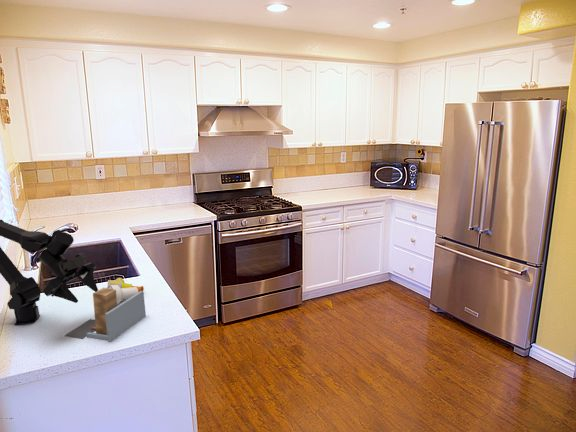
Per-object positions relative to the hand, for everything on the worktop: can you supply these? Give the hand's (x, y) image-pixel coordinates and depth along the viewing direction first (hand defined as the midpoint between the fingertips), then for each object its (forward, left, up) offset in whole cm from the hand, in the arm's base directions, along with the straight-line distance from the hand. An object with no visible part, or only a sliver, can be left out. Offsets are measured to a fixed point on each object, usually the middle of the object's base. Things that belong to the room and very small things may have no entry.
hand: (87, 296), depth 140 cm
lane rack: (+8, 0, -13) cm, 15 cm away
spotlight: (+7, +21, -13) cm, 26 cm away
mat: (-2, +1, -13) cm, 13 cm away
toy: (+8, +32, -13) cm, 36 cm away
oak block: (+4, -2, -12) cm, 13 cm away
